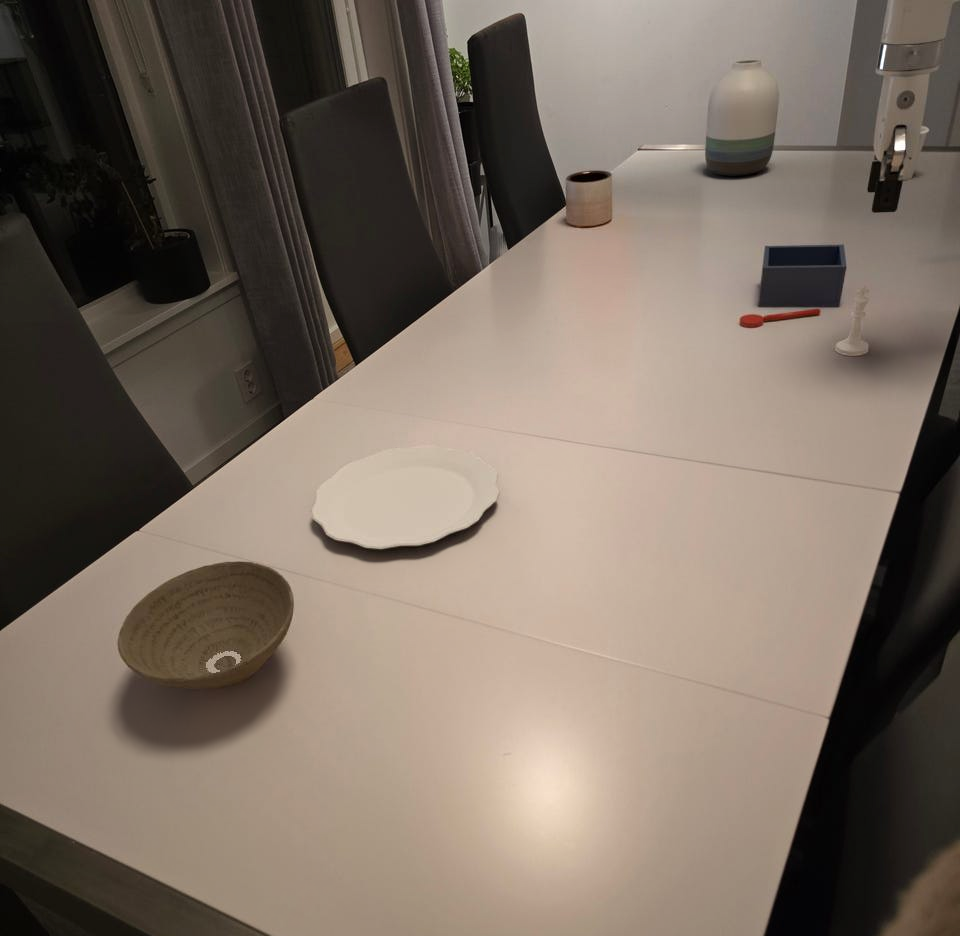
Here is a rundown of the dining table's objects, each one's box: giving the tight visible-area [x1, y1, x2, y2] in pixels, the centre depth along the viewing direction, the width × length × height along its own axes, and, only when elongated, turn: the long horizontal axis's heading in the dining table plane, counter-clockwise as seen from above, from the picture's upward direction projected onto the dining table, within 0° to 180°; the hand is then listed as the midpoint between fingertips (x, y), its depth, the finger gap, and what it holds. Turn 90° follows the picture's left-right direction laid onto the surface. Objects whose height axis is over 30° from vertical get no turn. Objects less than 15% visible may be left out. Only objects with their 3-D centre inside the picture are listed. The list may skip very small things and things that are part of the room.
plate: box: [310, 444, 500, 551], centre depth 112 cm, size 25×25×2 cm
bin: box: [758, 244, 847, 308], centre depth 150 cm, size 14×12×7 cm
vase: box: [704, 58, 780, 177], centre depth 210 cm, size 17×17×24 cm
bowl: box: [117, 560, 295, 690], centre depth 88 cm, size 18×18×8 cm
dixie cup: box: [902, 125, 930, 181], centre depth 196 cm, size 8×8×10 cm
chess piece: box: [834, 284, 870, 357], centre depth 130 cm, size 5×5×10 cm
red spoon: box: [739, 308, 821, 329], centre depth 145 cm, size 14×4×1 cm, turn 94°
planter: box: [565, 169, 613, 228], centre depth 195 cm, size 11×11×10 cm
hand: (881, 201), depth 119 cm, fingers open, 9 cm apart
